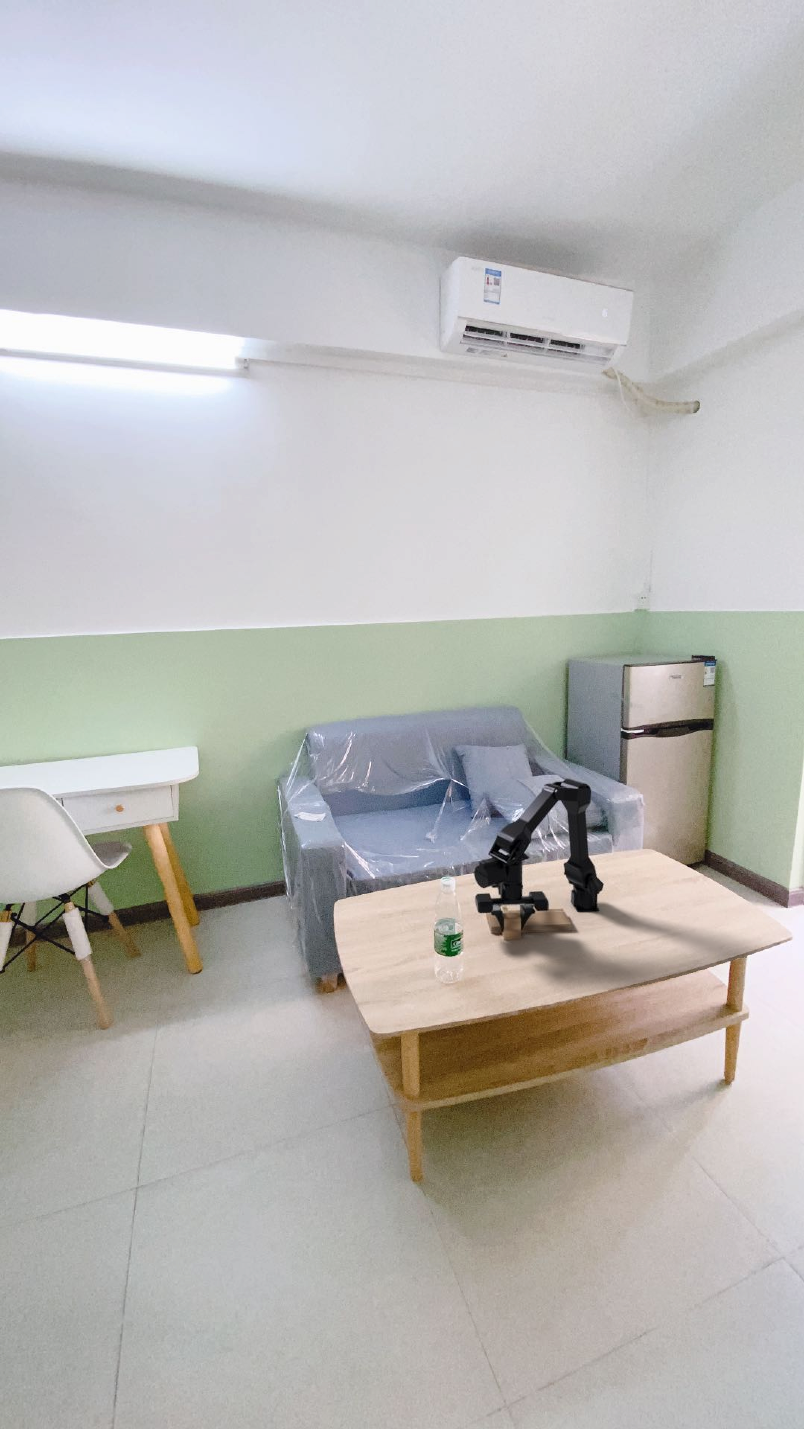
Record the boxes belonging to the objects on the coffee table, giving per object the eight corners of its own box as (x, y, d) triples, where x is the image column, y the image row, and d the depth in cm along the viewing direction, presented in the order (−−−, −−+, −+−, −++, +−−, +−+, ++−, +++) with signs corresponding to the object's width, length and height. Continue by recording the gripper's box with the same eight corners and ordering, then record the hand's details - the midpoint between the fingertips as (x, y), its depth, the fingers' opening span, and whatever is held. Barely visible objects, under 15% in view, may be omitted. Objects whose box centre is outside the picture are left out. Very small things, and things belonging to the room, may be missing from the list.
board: (562, 915, 156) (562, 908, 155) (571, 930, 148) (571, 923, 148) (486, 917, 156) (486, 911, 155) (491, 933, 148) (491, 926, 147)
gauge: (512, 917, 155) (512, 898, 154) (520, 939, 145) (521, 918, 144) (496, 918, 155) (496, 899, 154) (504, 939, 145) (504, 919, 144)
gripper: (538, 862, 151) (537, 913, 154) (471, 865, 151) (472, 916, 154) (549, 881, 140) (549, 936, 143) (478, 884, 140) (478, 939, 143)
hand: (511, 931), depth 146 cm, fingers closed on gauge, 4 cm apart
